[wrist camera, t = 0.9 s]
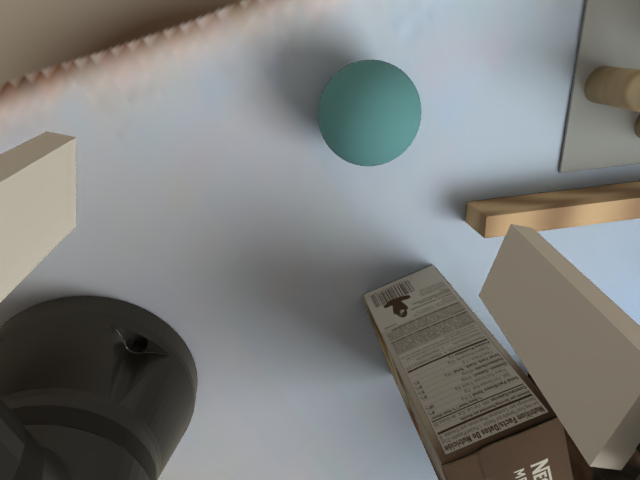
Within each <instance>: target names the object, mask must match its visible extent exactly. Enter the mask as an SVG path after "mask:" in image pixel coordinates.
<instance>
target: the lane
mask: <svg viewBox="0 0 640 480" xmlns="http://www.w3.org/2000/svg"><path fill="white" fill-rule="evenodd" d="M637 218H640V181H637V182H629V183H621V184H612V185H604V186H596V187H587V188H579V189H571V190H562V191H554V192H546V193H537V194H529V195H521V196H512V197H504V198H495V199H487V200H479V201H470V202H467V210H466V223H467V224H469V225H470V226H471V227H472V228H473V229H474V230H476V231H477V232H478V233H479V234H480V235H481V236H483V237H484V238H490V237H498V236H506V233H507V231H508V229H509V227H510V224H514V225H519V226H525V227H530V228H533V229H534V230H535V231H544V230H552V229H560V228H567V227H575V226H583V225H590V224H598V223H606V222H614V221H621V220H629V219H637Z"/></svg>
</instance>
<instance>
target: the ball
mask: <svg viewBox="0 0 640 480" xmlns="http://www.w3.org/2000/svg"><path fill="white" fill-rule="evenodd" d="M318 121H319V127H320V130H321V133H322V136H323V138H324V140H325V142H326V143H327V145H328V146H329V147H330V149H331V150H332V151H333V152H334V153H335V154H336V155H338V156H339V157H340V158H342V159H344V160H345V161H347V162H350V163H352V164H356V165H360V166H376V165H381V164H384V163H387V162H389V161H391V160H393V159H395V158H397V157H398V156H399V155H401V154H402V153H403V152H404V151H405V150H406V149H407V148H408V147H409V146H410V144H411V143H412V141H413V140H414V138H415V136H416V134H417V132H418V129H419V125H420V121H421V103H420V98H419V94H418V92H417V89H416V87H415V85H414V84H413V82H412V81H411V79H410V78H409V77H408V76H407V75H406V74H405V73H404V72H403V71H402V70H401V69H399V68H398V67H396V66H394V65H392V64H390V63H387V62H384V61H379V60H363V61H358V62H355V63H352V64H350V65H348V66H346V67H344V68H343V69H341V70H340V71H339V72H337V73H336V74H335V75H334V76H333V77H332V78H331V80H330V81H329V82H328V84H327V85H326V87H325V89H324V91H323V93H322V96H321V98H320V102H319V108H318Z"/></svg>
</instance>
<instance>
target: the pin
mask: <svg viewBox="0 0 640 480" xmlns="http://www.w3.org/2000/svg"><path fill="white" fill-rule="evenodd" d="M635 133H636V135H637V136H638V137H639V138H640V115H639V117H638V118H637V120H636V123H635Z"/></svg>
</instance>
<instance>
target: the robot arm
mask: <svg viewBox="0 0 640 480" xmlns="http://www.w3.org/2000/svg"><path fill="white" fill-rule="evenodd" d="M75 227H76V137H72V136H67V135H62V134H57V133H52V132H45V133H43V134H41V135H39V136H37V137H35V138H33V139H31V140H29V141H27V142H25V143H23V144H21V145H19V146H17V147H15V148H13V149H11V150H9V151H7V152H5V153H3V154H1V155H0V302H1V301H2V300H3V299H4V298H5V297H6V296H7V295H8V294H9V293H10V292H11V291H12V290H13V289H14V288H15V287H16V286H17V285H18V284H19V283H20V282H21V281H22V280H23V279H24V278H25V277H26V276H27V275H28V274H29V273H30V272H31V271H32V270H33V269H34V268H35V267H36V266H37V265H38V264H39V263H40V262H41V261H42V260H43V259H44V258H45V257H46V256H47V255H48V254H49V253H50V252H51V251H52V250H53V249H54V248H55V247H56V246H57V245H58V244H59V243H60V242H61V241H62V240H63V239H64V238H65V237H66V236H67V235H68V234H69V233H70V232H71V231H72V230H73V229H74V228H75ZM479 297H480V298H481V300H482V301H483V303H484V304H485V306H486V308H487V309H488V311H489V312H490V314H491V315H492V317H493V318H494V320H495V321H496V323H497V324H498V326H499V328H500V329H501V331H502V332H503V334H504V335H505V337H506V338H507V340H508V341H509V343H510V344H511V346H512V348H513V349H514V351H515V352H516V354H517V355H518V357H519V358H520V360H521V361H522V363H523V364H524V366H525V368H526V369H527V371H528V372H529V374H530V375H531V377H532V378H533V380H534V381H535V383H536V384H537V386H538V388H539V389H540V391H541V392H542V394H543V395H544V397H545V398H546V400H547V401H548V403H549V404H550V406H551V408H552V409H553V411H554V412H555V414H556V415H557V417H558V418H559V420H560V421H561V423H562V424H563V426H564V428H565V429H566V431H567V432H568V434H569V435H570V437H571V438H572V440H573V441H574V443H575V444H576V446H577V448H578V449H579V451H580V452H581V454H582V455H583V457H584V458H585V460H586V461H587V463H588V464H589V466H590V467H598V468H607V469H615V470H622V469H623V467H624V466H625V464H626V463H627V462H628V460H629V459H630V458H631V456H632V455H633V454H634V452H635V451H636V450H637V451H638V452H639V453H640V326H639V325H638V324H637V323H636V322H635V321H634V320H633V319H632V318H631V317H630V316H628V315H627V314H626V313H625V312H624V311H623V310H622V309H621V308H620V307H619V306H617V305H616V304H615V303H614V302H613V301H612V300H611V299H610V298H609V297H608V296H607V295H605V294H604V293H603V292H602V291H601V290H600V289H599V288H598V287H597V286H596V285H594V284H593V283H592V282H591V281H590V280H589V279H588V278H587V277H586V276H585V275H584V274H582V273H581V272H580V271H579V270H578V269H577V268H576V267H575V266H574V265H573V264H571V263H570V262H569V261H568V260H567V259H566V258H565V257H564V256H563V255H562V254H560V253H559V252H558V251H557V250H556V249H555V248H554V247H553V246H552V245H551V244H550V243H548V242H547V241H546V240H545V239H544V238H543V237H542V236H541V235H540V234H539V233H537V232H536V231H535V230H534V229H533V228H530V227H525V226H519V225H514V224H510V227H509V229H508V231H507V233H506V236H505V238H504V240H503V242H502V245H501V247H500V249H499V251H498V254H497V256H496V258H495V260H494V263H493V265H492V267H491V269H490V272H489V274H488V276H487V278H486V281H485V283H484V285H483V287H482V290H481V292H480V294H479ZM196 391H197V371H196V366H195V362H194V359H193V357H192V354H191V352H190V350H189V349H188V347H187V345H186V344H185V342H184V341H183V340H182V338H181V337H180V336H179V335H178V334H177V333H176V332H175V331H174V330H173V329H172V328H171V327H170V326H169V325H168V324H166V323H165V322H164V321H162V320H161V319H159V318H158V317H156V316H155V315H153V314H151V313H149V312H148V311H145V310H143V309H141V308H139V307H136V306H134V305H131V304H128V303H125V302H121V301H117V300H112V299H107V298H100V297H68V298H61V299H55V300H51V301H47V302H44V303H40V304H38V305H35V306H32V307H30V308H28V309H26V310H24V311H22V312H20V313H19V314H17V315H16V316H14V317H13V318H11V319H10V320H9V321H7V322H6V323H5V324H4V325H3V326H2V327H1V328H0V480H157V479H158V478H159V476H160V474H161V472H162V471H163V469H164V467H165V466H166V464H167V462H168V461H169V459H170V457H171V455H172V454H173V452H174V450H175V448H176V447H177V445H178V443H179V441H180V440H181V438H182V436H183V435H184V433H185V431H186V429H187V428H188V426H189V423H190V421H191V418H192V415H193V411H194V407H195V399H196ZM636 480H640V475H639V476H638V477H637V479H636Z"/></svg>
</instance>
